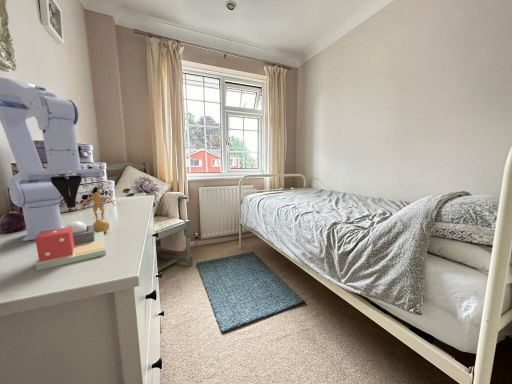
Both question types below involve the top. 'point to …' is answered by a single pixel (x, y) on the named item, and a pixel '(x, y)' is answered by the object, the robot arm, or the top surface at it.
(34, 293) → the top surface
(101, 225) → the figurine
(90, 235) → the housing
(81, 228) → the white ball
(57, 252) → the die
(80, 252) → the board
